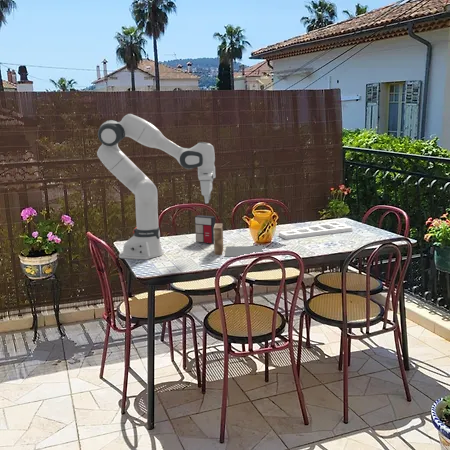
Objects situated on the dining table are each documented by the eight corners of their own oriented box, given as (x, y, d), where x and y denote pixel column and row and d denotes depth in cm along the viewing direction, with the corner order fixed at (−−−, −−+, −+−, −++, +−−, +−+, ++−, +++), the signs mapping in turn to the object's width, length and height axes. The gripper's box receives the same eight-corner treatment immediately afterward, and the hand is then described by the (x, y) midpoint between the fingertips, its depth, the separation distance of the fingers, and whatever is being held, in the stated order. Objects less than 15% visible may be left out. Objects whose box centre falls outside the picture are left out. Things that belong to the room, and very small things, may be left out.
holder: (285, 240, 268) (285, 235, 268) (271, 233, 285) (271, 228, 284) (352, 231, 284) (352, 227, 283) (335, 225, 300) (335, 221, 299)
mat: (224, 256, 238) (224, 256, 238) (226, 247, 255) (226, 246, 255) (266, 256, 237) (266, 255, 237) (265, 246, 254) (265, 246, 254)
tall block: (214, 254, 242) (213, 228, 239) (215, 248, 252) (215, 223, 249) (222, 254, 241) (221, 228, 238) (223, 248, 252) (222, 223, 249)
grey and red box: (195, 242, 267) (194, 216, 263) (199, 240, 270) (198, 215, 267) (212, 244, 262) (211, 217, 258) (215, 242, 265) (214, 216, 262)
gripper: (202, 172, 249) (203, 198, 252) (198, 177, 229) (199, 205, 232) (214, 172, 248) (215, 197, 251) (211, 177, 228) (212, 205, 231)
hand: (207, 201), depth 241 cm, fingers open, 8 cm apart
